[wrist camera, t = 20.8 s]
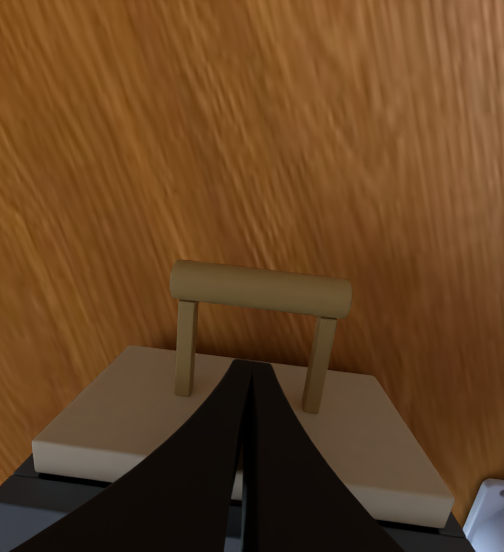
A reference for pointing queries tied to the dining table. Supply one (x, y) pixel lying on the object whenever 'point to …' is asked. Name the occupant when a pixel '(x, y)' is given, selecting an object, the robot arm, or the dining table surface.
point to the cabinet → (69, 495)
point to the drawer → (293, 380)
